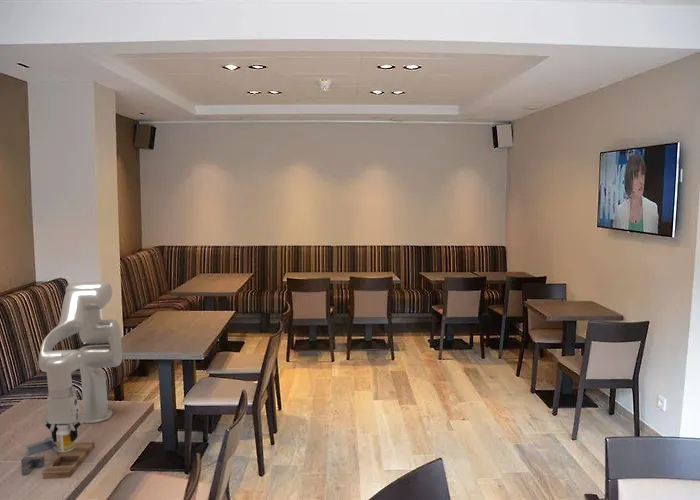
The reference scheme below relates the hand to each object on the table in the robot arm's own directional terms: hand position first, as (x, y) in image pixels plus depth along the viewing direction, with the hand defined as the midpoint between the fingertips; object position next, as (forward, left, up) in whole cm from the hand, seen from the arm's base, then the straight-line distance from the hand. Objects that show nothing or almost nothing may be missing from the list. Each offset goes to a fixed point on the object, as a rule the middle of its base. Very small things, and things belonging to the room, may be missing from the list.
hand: (65, 439), depth 206 cm
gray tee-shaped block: (+2, -12, -10) cm, 15 cm away
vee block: (-13, -12, -10) cm, 20 cm away
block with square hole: (-2, 0, -10) cm, 10 cm away
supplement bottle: (0, 0, -4) cm, 4 cm away
